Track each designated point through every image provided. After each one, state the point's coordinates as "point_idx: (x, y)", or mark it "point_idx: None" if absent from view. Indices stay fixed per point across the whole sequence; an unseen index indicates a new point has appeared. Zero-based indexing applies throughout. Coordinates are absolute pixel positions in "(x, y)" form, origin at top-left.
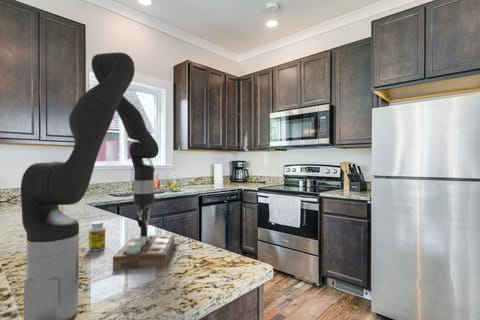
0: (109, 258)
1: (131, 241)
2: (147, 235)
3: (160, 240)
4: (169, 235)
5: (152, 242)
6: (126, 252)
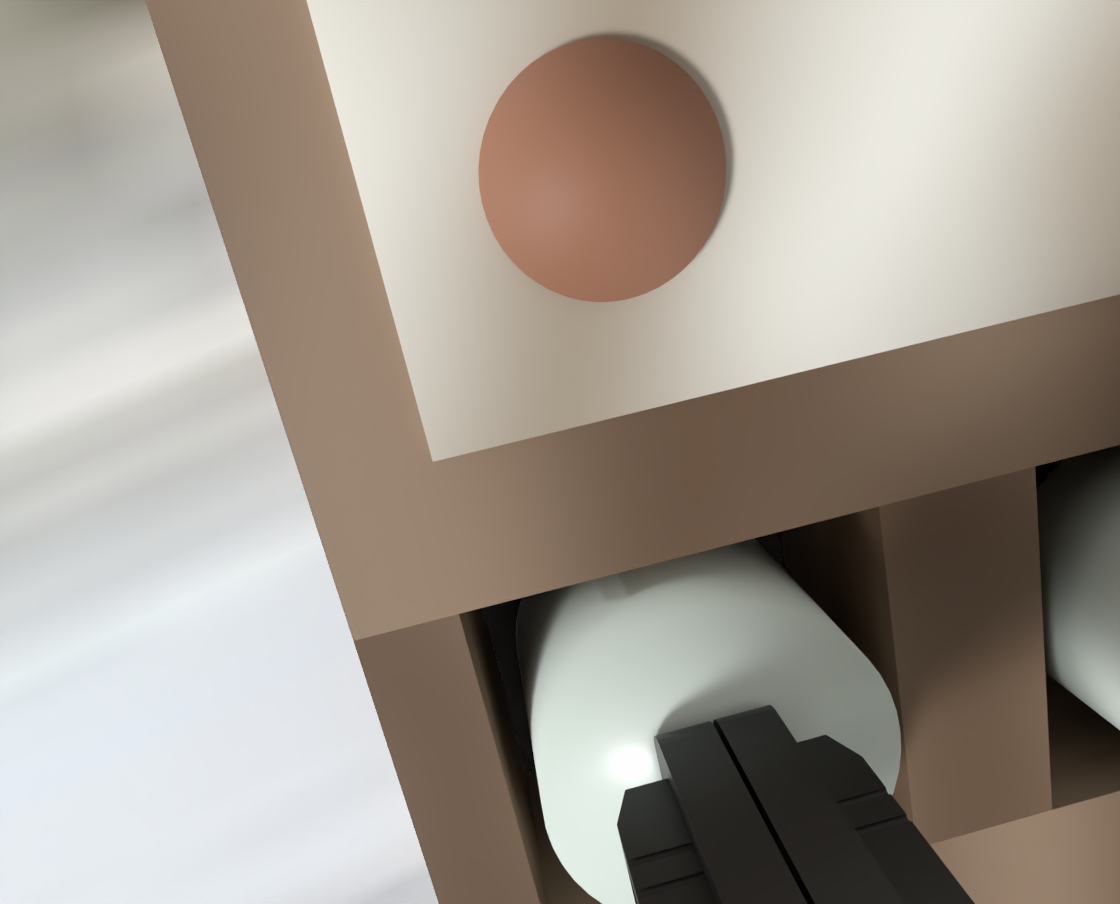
0: None
1: None
2: (584, 748)
3: (961, 138)
4: (231, 59)
5: (1081, 335)
6: None
